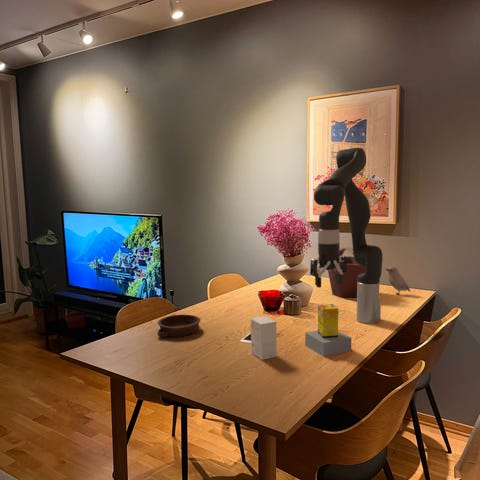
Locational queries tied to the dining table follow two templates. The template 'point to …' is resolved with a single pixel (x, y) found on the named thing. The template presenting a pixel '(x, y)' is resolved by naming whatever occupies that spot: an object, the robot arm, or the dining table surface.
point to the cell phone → (247, 339)
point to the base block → (327, 343)
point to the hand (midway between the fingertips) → (328, 285)
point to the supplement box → (328, 320)
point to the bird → (397, 280)
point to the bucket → (346, 278)
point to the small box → (263, 337)
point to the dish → (178, 325)
